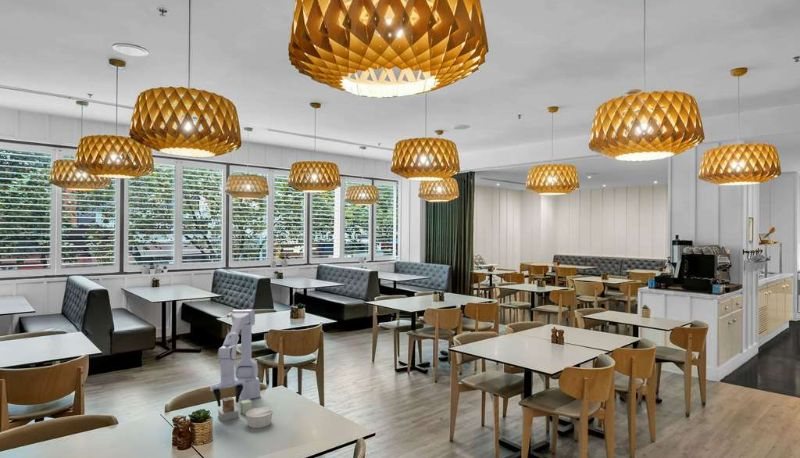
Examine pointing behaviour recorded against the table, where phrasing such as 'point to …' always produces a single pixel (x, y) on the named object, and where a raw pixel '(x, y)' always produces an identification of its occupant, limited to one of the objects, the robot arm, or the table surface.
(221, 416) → the plinth block
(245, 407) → the sage block
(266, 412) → the ramekin
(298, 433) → the table surface
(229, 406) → the walnut block
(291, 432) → the table surface
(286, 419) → the table surface
